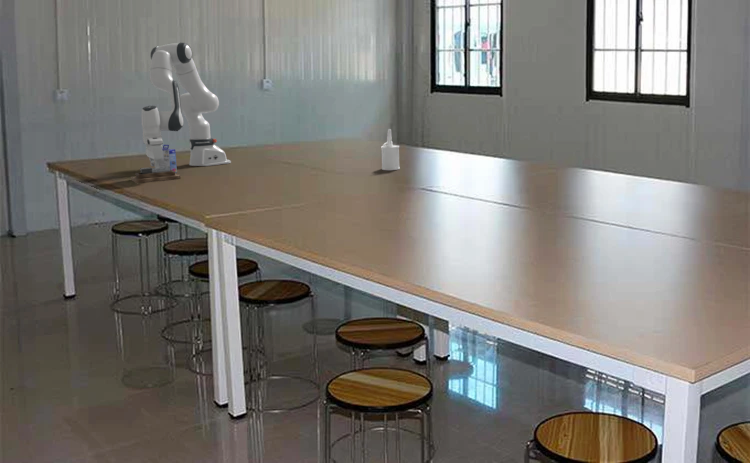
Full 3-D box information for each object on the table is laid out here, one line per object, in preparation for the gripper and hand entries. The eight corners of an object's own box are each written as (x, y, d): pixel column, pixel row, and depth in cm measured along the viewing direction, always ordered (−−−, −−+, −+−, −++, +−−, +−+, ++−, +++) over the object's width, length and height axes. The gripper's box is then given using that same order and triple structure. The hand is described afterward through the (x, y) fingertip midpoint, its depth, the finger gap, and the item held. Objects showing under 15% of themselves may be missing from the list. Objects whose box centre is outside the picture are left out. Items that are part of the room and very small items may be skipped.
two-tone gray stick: (142, 178, 444) (141, 169, 443) (140, 177, 448) (140, 168, 447) (170, 175, 450) (170, 166, 449) (168, 174, 453) (168, 165, 453)
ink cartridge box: (177, 172, 470) (175, 144, 467) (170, 174, 465) (168, 145, 462) (163, 171, 475) (160, 144, 472) (155, 173, 470) (153, 145, 467)
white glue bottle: (403, 169, 453) (402, 129, 449) (387, 171, 449) (386, 130, 444) (392, 166, 462) (391, 127, 458) (376, 168, 457) (375, 129, 453)
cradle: (174, 175, 459) (174, 168, 458) (180, 178, 448) (180, 171, 448) (130, 179, 450) (130, 172, 449) (135, 183, 439) (135, 175, 438)
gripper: (141, 138, 453) (144, 165, 456) (150, 142, 435) (153, 170, 438) (154, 137, 455) (156, 164, 458) (163, 140, 437) (166, 169, 440)
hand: (155, 167), depth 448 cm, fingers open, 8 cm apart
